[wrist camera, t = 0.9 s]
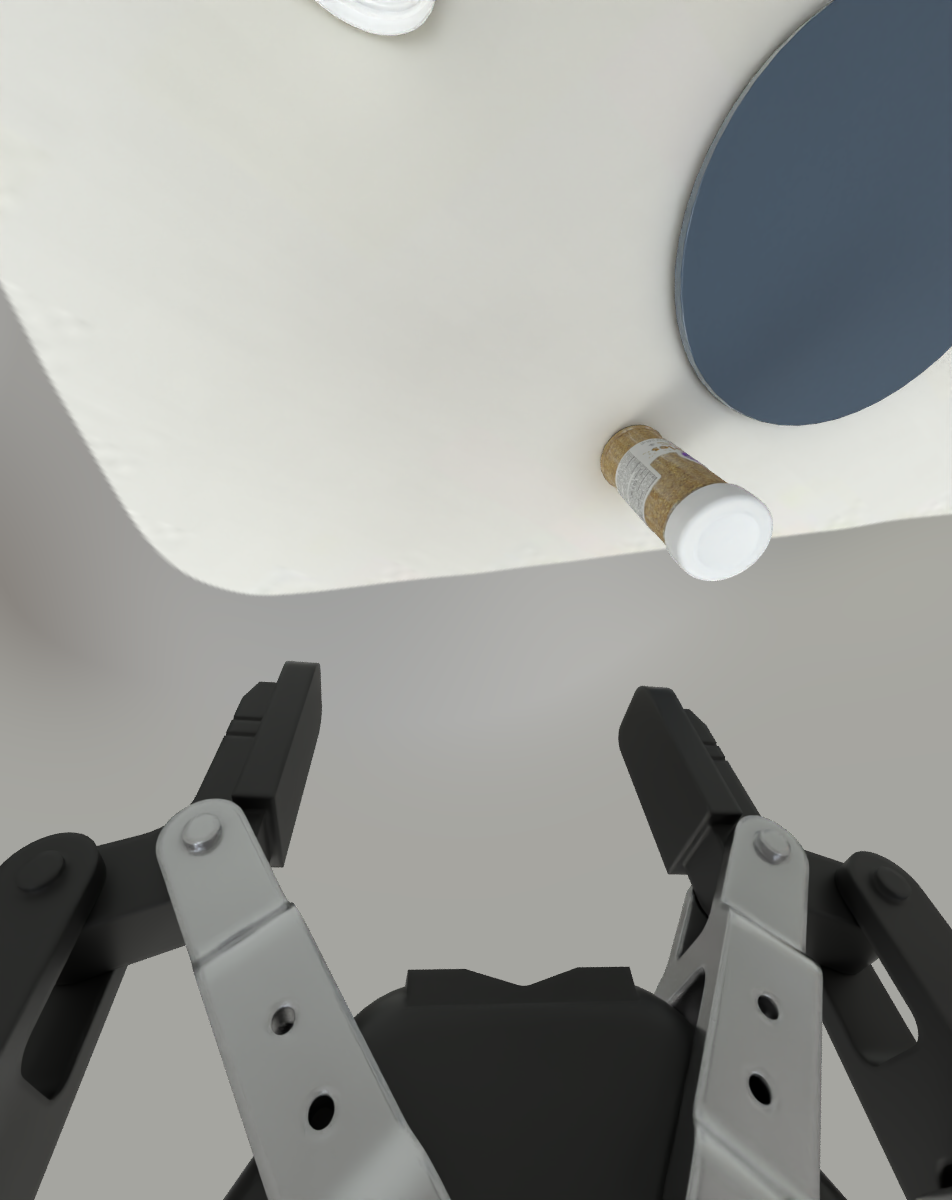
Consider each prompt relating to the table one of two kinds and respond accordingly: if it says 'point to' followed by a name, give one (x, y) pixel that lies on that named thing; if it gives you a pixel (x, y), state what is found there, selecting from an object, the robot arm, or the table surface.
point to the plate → (826, 219)
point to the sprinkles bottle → (687, 504)
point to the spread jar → (381, 14)
